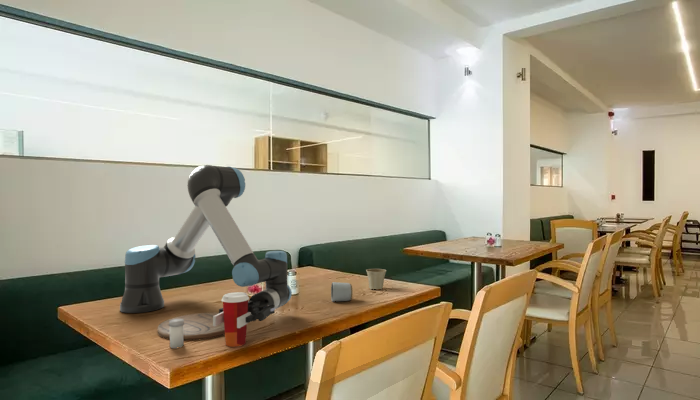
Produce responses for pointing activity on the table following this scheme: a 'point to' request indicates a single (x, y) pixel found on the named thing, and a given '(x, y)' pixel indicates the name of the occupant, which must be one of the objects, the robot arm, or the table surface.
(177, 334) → the salt shaker
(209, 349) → the table surface
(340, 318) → the table surface
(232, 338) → the paper cup
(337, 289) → the ceramic mug
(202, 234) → the robot arm
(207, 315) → the trivet
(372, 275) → the flower pot
